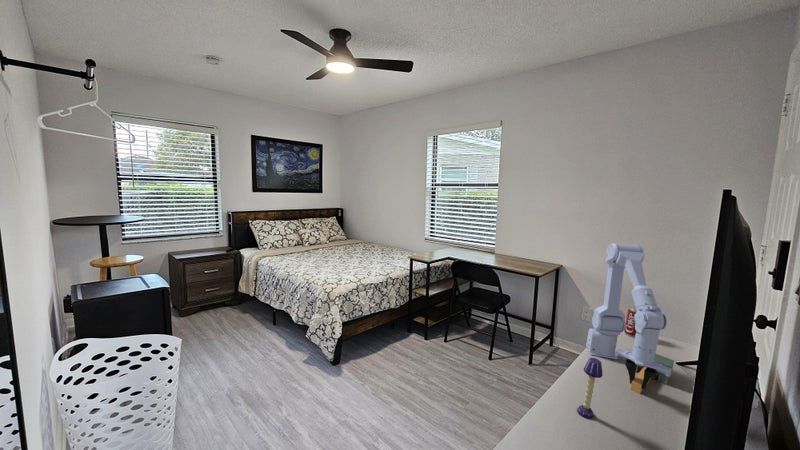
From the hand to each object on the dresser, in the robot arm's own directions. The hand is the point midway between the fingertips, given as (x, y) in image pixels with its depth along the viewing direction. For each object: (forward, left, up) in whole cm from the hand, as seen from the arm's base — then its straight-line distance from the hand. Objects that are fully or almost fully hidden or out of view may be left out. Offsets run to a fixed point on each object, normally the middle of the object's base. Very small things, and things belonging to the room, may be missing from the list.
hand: (637, 385), depth 109 cm
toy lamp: (-18, -18, -2) cm, 26 cm away
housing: (+8, +12, -2) cm, 14 cm away
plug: (+4, +7, -2) cm, 8 cm away
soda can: (+12, +44, -2) cm, 45 cm away
